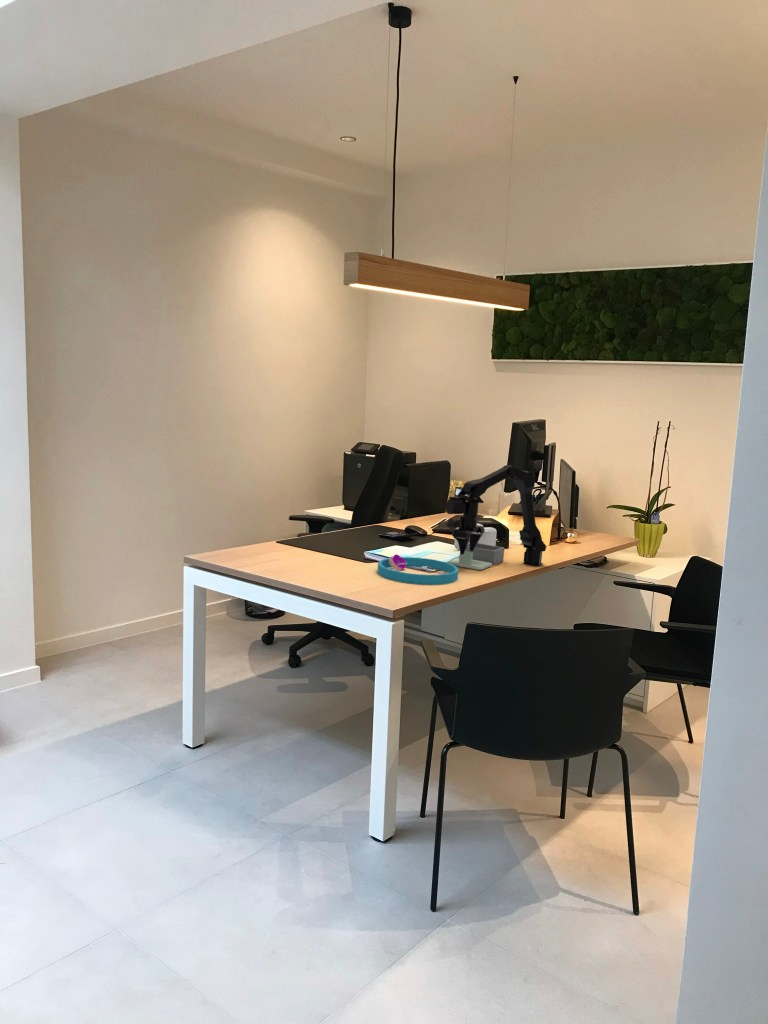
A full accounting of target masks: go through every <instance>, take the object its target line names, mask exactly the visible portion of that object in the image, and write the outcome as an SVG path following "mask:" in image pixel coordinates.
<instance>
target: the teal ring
mask: <svg viewBox="0 0 768 1024" xmlns="http://www.w3.org/2000/svg"><path fill="white" fill-rule="evenodd" d="M422 566H428V567H431V568H432V570H437V571H436V572H435V571H433V573H434V574H420V573H419V574H418V573H410V572H404V571H402V570H404V569H405V568H406V567H414V568H421V570H422V571H426V570H427V569H429V568H427V567H422ZM431 568H430V569H431ZM377 573H378V575H380V577H382V578H385V579H388V580H391V581H395V582H398V583H405V584H414V585H423V586H424V585H429V586H432V585H434V586H436V585H437V586H438V585H447V584H451V583H455V582H457V581H458V578H459V567H458V566H454V565H452V564H450V563H448V562H445V561H441V560H438V559H432V558H425V557H424V558H423V557H414V556H413V557H412V556H411V557H410V556H403V557H402V556H401V555H399V554H394V555H393V556H389V557H388V558H383V559H381V560H379V561H378V563H377Z"/></svg>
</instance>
